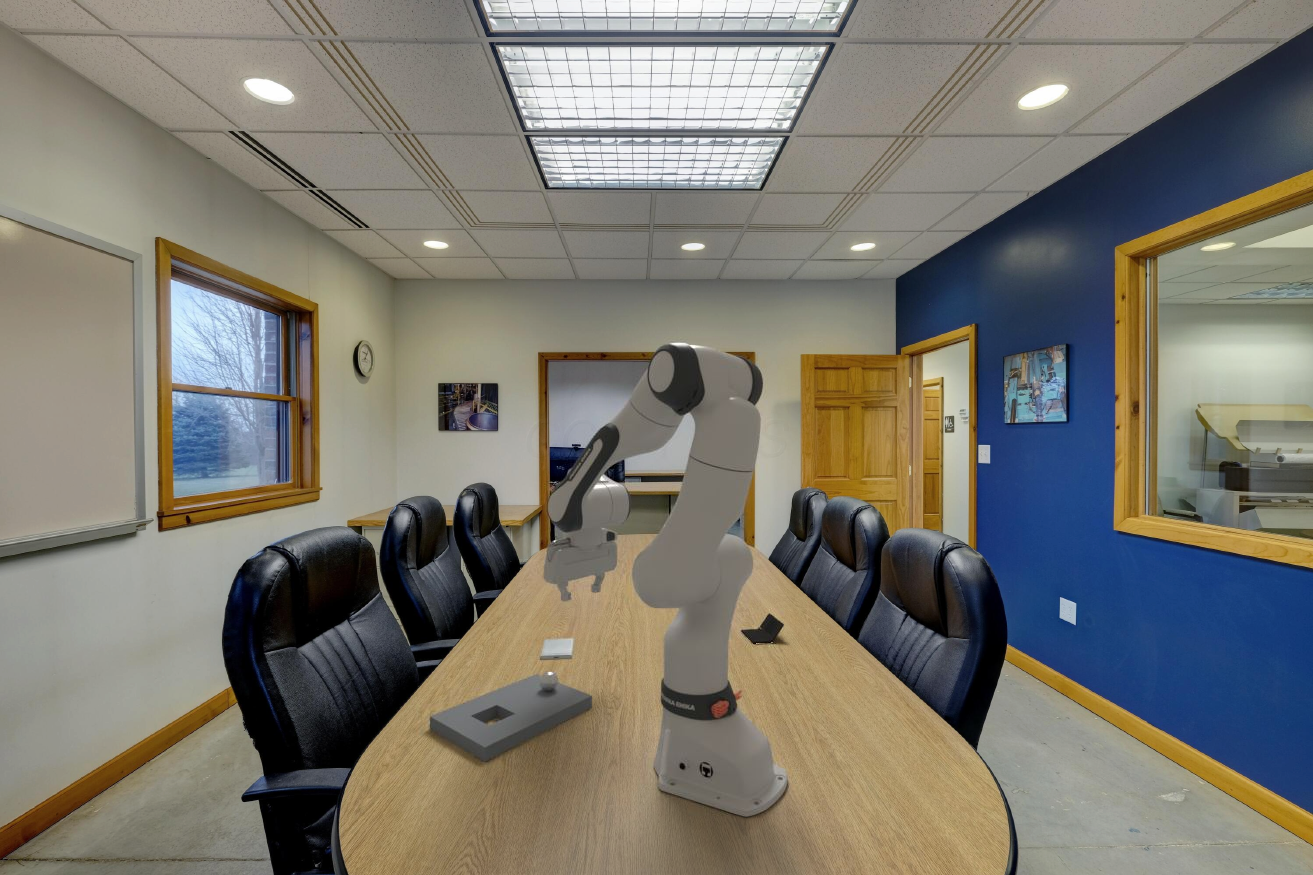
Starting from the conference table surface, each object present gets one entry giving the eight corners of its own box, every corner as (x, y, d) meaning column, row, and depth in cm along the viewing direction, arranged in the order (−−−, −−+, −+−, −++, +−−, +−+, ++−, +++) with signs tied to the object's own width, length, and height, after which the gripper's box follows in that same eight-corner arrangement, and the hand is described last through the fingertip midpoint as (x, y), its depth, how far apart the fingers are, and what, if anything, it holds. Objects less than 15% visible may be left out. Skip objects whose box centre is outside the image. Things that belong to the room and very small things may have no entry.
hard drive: (544, 639, 155) (540, 655, 143) (574, 638, 156) (572, 654, 144) (544, 645, 155) (540, 661, 143) (574, 643, 156) (572, 660, 144)
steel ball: (562, 689, 119) (562, 671, 119) (547, 696, 116) (547, 676, 116) (549, 684, 121) (549, 666, 121) (535, 691, 118) (535, 672, 118)
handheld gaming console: (734, 627, 164) (754, 600, 165) (750, 640, 166) (770, 613, 167) (753, 646, 153) (775, 617, 154) (770, 659, 155) (791, 630, 156)
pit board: (591, 707, 116) (592, 695, 116) (484, 762, 96) (484, 747, 96) (536, 684, 127) (536, 673, 127) (429, 729, 107) (429, 716, 107)
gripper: (557, 543, 117) (555, 609, 117) (622, 532, 133) (621, 590, 133) (538, 539, 121) (536, 603, 120) (603, 529, 137) (602, 585, 137)
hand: (581, 596), depth 127 cm, fingers open, 8 cm apart
